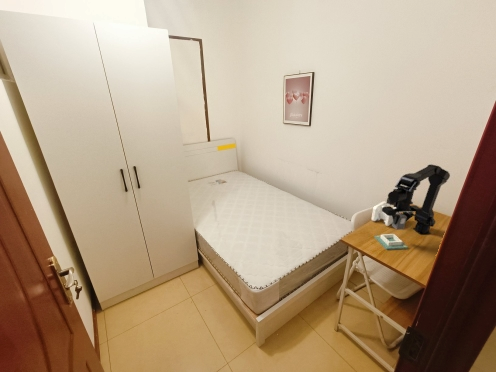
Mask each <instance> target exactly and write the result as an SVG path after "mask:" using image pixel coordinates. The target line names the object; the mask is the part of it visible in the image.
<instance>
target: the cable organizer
mask: <svg viewBox="0 0 496 372" xmlns="http://www.w3.org/2000/svg"><path fill="white" fill-rule="evenodd" d="M387 205H388V204H387V201H384V200H383V201H381V202H379V203H377V205H374V206H373V207H372V214H371V221H372V222H376V221H380V220H383V223H384V225H385V226H387V227H389V226H390V225H392V223H393V218H392V216H388V215H387V214H385V213H384V212H383V211H382V208H383V207H387ZM392 208H393V209H396V207H394V206H393V207H392Z"/></svg>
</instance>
